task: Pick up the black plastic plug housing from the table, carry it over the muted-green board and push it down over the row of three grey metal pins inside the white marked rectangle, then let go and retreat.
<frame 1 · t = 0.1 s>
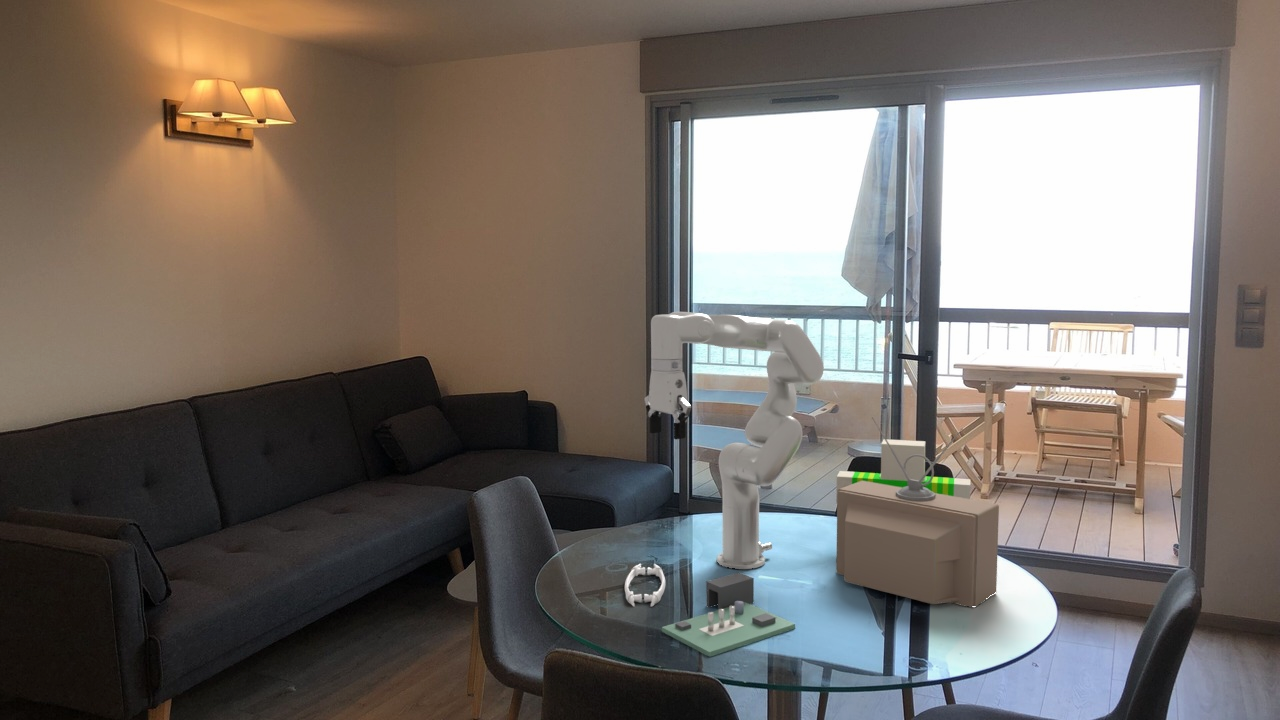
hand: (667, 435, 227), 37 cm above the table, tool pointing down, fingers open, 9 cm apart
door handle: (645, 589, 227), on the table
toy: (901, 552, 252), on the table
board: (728, 629, 201), on the table
television: (907, 587, 226), on the table
pins: (721, 632, 200), resting on board
plug housing: (730, 604, 215), on the table
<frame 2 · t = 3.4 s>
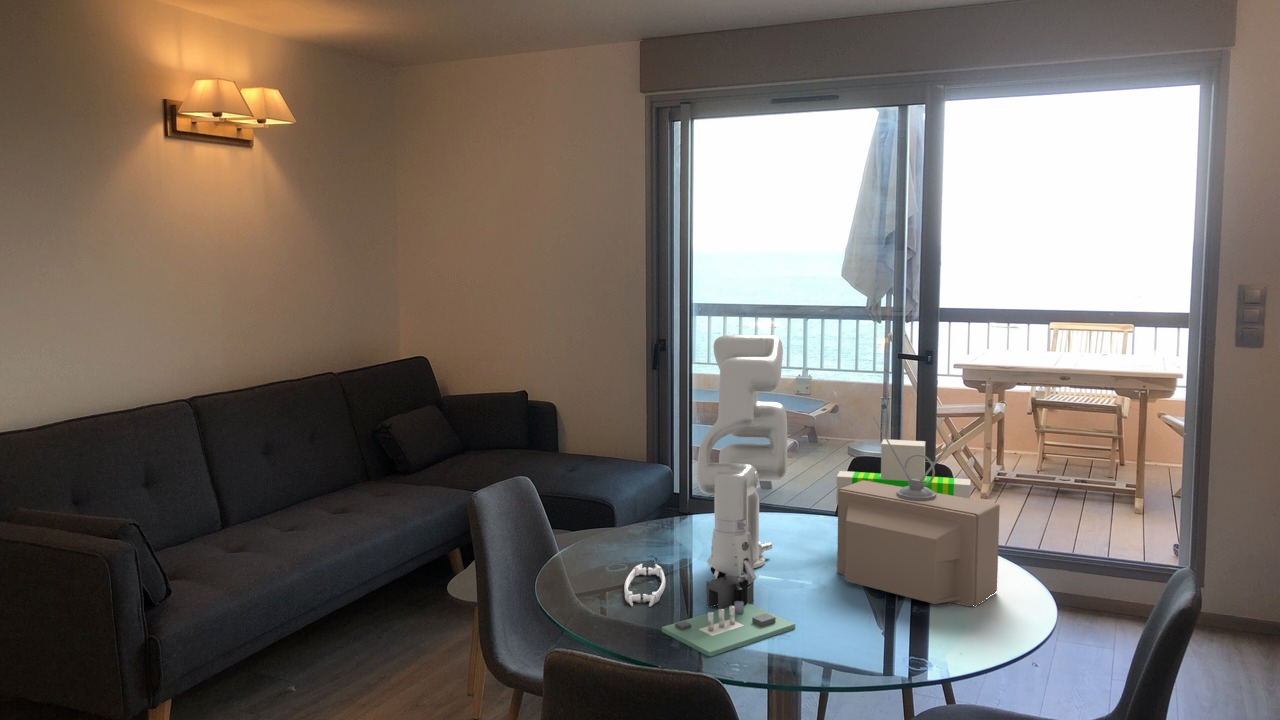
hand: (731, 600, 215), 1 cm above the table, tool pointing down, fingers open, 6 cm apart
nothing on the table moved.
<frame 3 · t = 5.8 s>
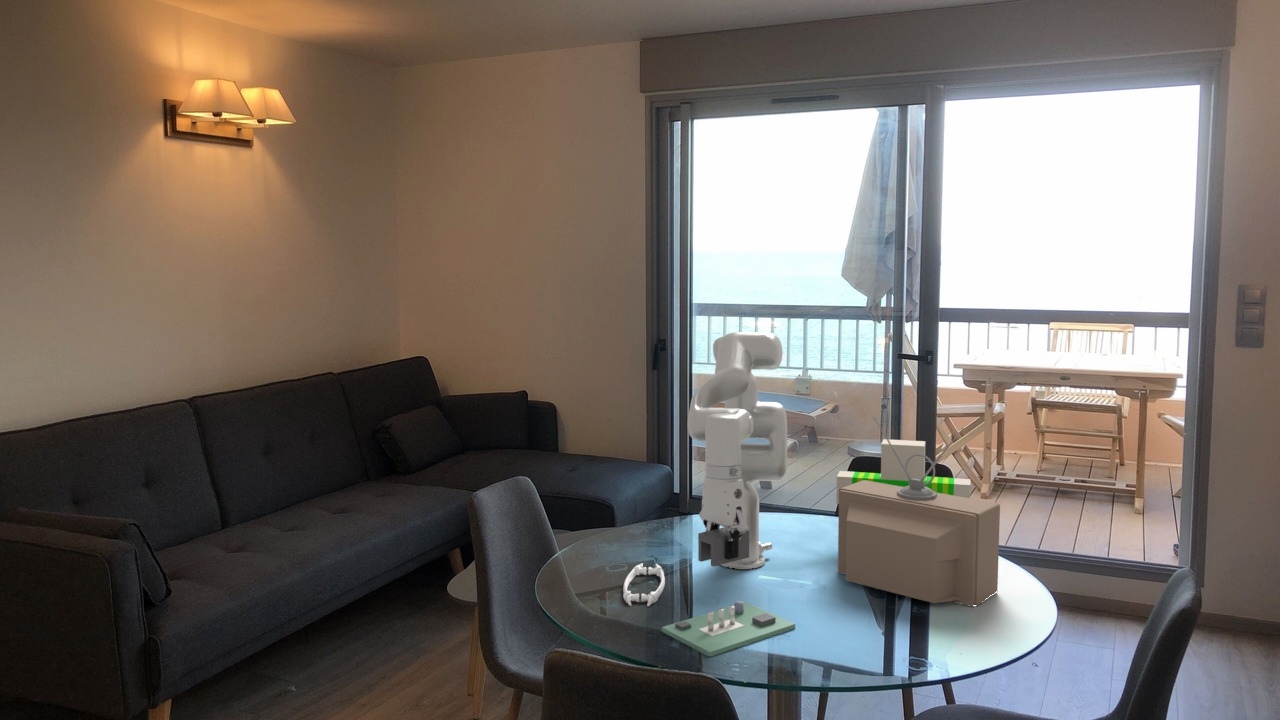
hand: (723, 554, 200), 16 cm above the table, tool pointing down, fingers closed on plug housing, 5 cm apart
plug housing: (723, 559, 201), point 15 cm above the table, touching gripper
everything else where it was.
when the fingers open (2 cm above the table, at t = 8.5 s): plug housing stays where it is, resting on board.
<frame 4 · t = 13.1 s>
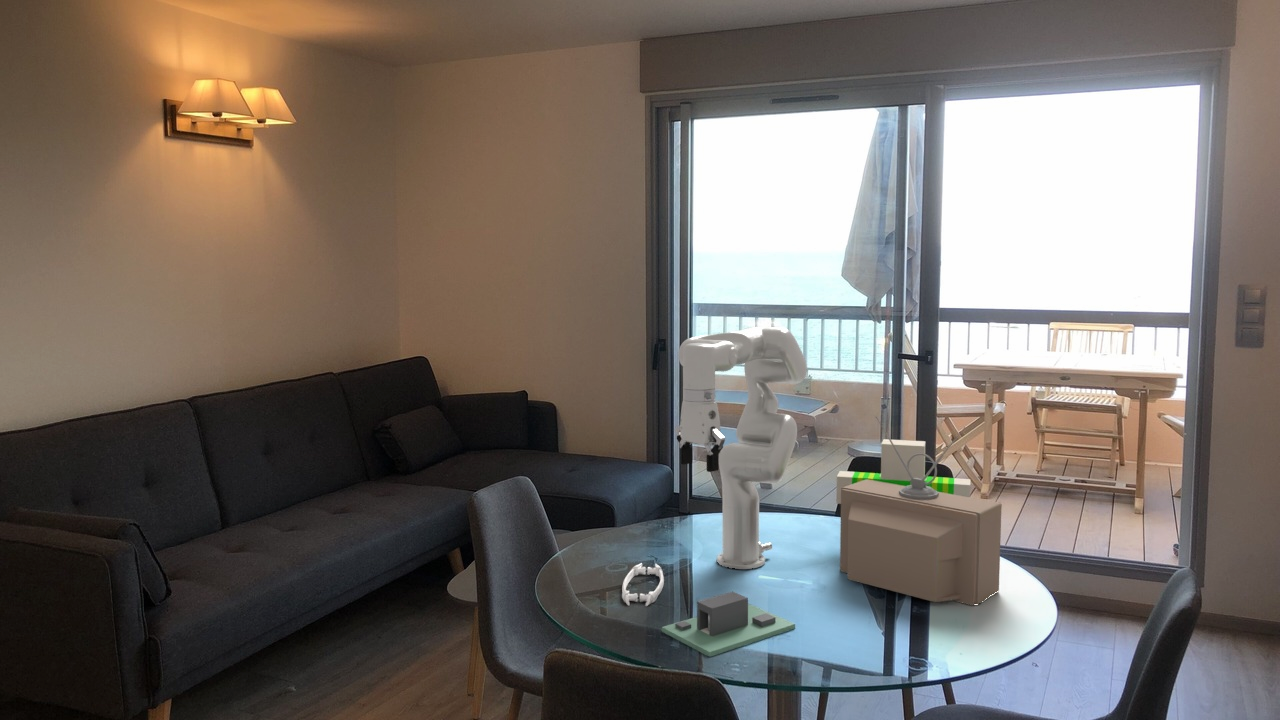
hand: (699, 467, 221), 30 cm above the table, tool pointing down, fingers open, 9 cm apart
plug housing: (722, 626, 200), point 1 cm above the table, touching board
at the end: plug housing 0.3 cm from the target spot on the board, point 1.1 cm above the board's base; plug housing tilted 0°; the gripper is holding nothing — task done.
